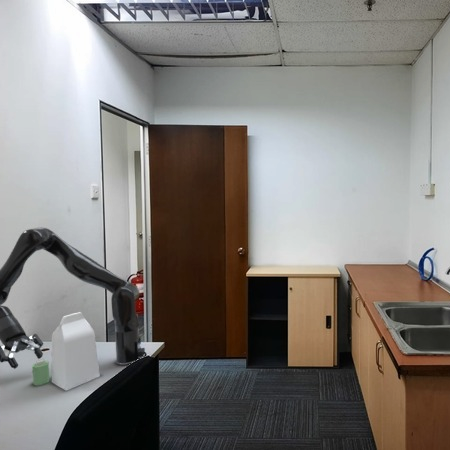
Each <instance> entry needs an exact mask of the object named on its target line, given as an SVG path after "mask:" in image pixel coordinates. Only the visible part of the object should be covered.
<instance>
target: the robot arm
mask: <svg viewBox="0 0 450 450" xmlns="http://www.w3.org/2000/svg"><path fill="white" fill-rule="evenodd" d="M37 251H46V252H47V253H49V254H52V256H54V257H55V258H57V259H58V261H59V262H60V263H61V265H62V266H63V268H64V269H65V270H66V271H67V272H68V273H69V274H71V275H72V276H73V277H75V278H76V279H78V280H80V281H82V282H84V283H87V284H90V285H93V286H96V287H100V288H102V289H105V290H107V291H108V292H109V293H111V299H110V300H111V315H112V318H113V322H114V338H115V356H116V357H115V363H116V364H117V365H119V366H125V365H126V366H127V365H131V364H130V363H132V362H134V361H136V360H137V359H139V358H140V359H141V358H142V357H144V356H146V357H147V352H146V348H145V347H142V342H141V341H142V340H141V338H142V337H141V335H140V325H139V320H140V319H139V314H138V312H137V311H136V302H137V301H138V300H139V299H140V297H141V292H140V289H139V287H137V286H136V285H135V284H133V283H132V282H129V280H128V281H127V280H125V279H123V278H121V277H120V276H118V275H116V274H114V272H112V271H111V270H109V269H107V268H106V267H105V266H103V265H101V264H100V263H98V262H97V261H95V260H94V259H92V258H91V257H89V256H88V255H86V254H84V253H83V252H81V251H80V250H78V249H77V248H75V247H73V246H72V245H70V244H69V243H68V242H67V241H65V240H63V238H61V237H60V236H58V234H57V233H55V232H54V231H52V230H50V229H49V228H47V227H42V226H41V227H40V226H39V227H33V228H29V229H26V230H24V231H22V233H21V234H20V235H19V237H18V239H17V241H16V243H15V244H14V247H13V248H12V251H11V252H10V253H9V255H8V257H7V259H6V261H5V262H4V263H3V265H2V266H1V268H0V342H1V344H2V345H0V363H4V362H8V364H9V367H11V368H12V369H17V368H18V367H19V362H18V361H17V360H16V358H15V357H14V354H15V353H16V354H17V353H19V352H21V351H25V350H26V351H32V352H33V353H34V355H35V356H36V358H37V360H41V359H42V357H43V355H44V353H43V351H42V350H41V348H43V347H42V346H43V345H44V342H43V340H42V339H41V338H40V337H39V334H37V333H34V334H32V335H31V336H28V335H27V334H26V331H25V330H24V328H23V326H22V325H21V323H20V322H19V320H18V318H16V317H15V315H14V313H13V312H12V311H11V309H10V308H9V307H8V306H6V305H4V304H5V303H6V302H7V300H8V297H9V294H10V292H11V289H12V287H13V285H15V283H16V282H17V281H18V279H19V278H20V277H21V275H22V273H23V270H24V266H25V264H26V263H27V261H28V260H29V258H30V257H31V256H32V255H34V253H36V252H37ZM5 351H8V353H7V355H6V353H5ZM140 359H139V360H140ZM132 364H133V363H132Z"/></svg>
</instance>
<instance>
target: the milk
mask: <svg viewBox="0 0 450 450" xmlns="http://www.w3.org/2000/svg"><path fill="white" fill-rule="evenodd" d="M98 359H99V358H98V350H97V343H96V335H95V330H94V329H93V327H92V326H91V324H90V323H89V321H87V319H86V318H85V316H84V314H83V313H82V311H78V312H74V313H69V314H67V315H63V316H62V318H61V320H60V322H59V325H58V326H56V329H55V330H54V331H53V332H52V334H51V383H53V385H56V386H57V387H59V388H60V389H62V390H64V391H65V392H67V391H69V390H71V389H74V388H76V387H78V386H81V385H83V384H85V383H88V382H90V381H93V380H94V379H97V378H99V377H100V375H101V374H100V366H99V360H98Z"/></svg>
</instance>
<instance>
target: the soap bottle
mask: <svg viewBox="0 0 450 450" xmlns="http://www.w3.org/2000/svg"><path fill="white" fill-rule="evenodd" d="M31 367H32V369H31V370H32V383H33V386H36V387H37V386H42V385H45V384H48V383H49V382H50V377H51V376H50V362H49V361H48V360H45V359H44V358H43V359H42V358H41V359H37V361H36V362H35V363H33V364H32V366H31Z"/></svg>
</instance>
